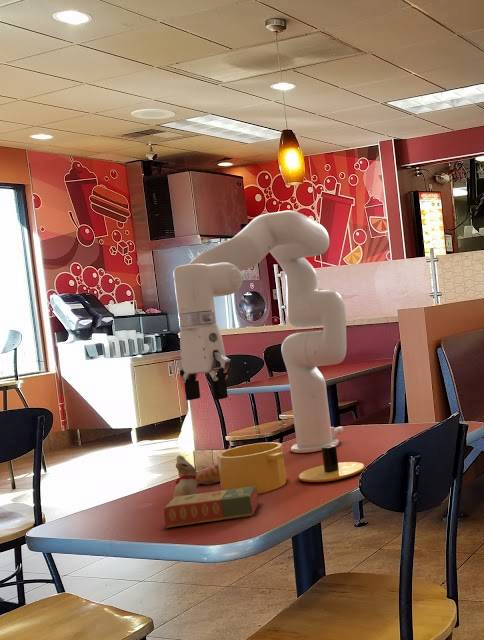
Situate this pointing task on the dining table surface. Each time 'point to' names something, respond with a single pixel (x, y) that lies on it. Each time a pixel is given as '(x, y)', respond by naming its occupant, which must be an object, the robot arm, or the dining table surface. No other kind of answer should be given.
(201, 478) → the pastry
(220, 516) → the carton
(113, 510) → the dining table surface
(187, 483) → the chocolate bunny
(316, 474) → the lid
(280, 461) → the pot
